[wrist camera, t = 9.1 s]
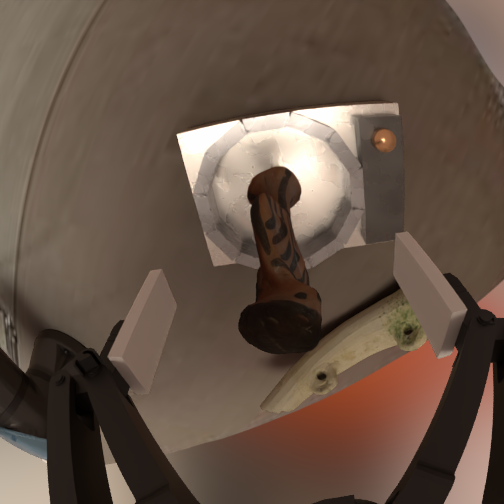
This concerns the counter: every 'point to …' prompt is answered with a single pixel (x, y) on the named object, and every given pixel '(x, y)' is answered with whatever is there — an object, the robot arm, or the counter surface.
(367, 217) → the white flat device
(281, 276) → the figurine
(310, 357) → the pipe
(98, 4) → the counter surface
